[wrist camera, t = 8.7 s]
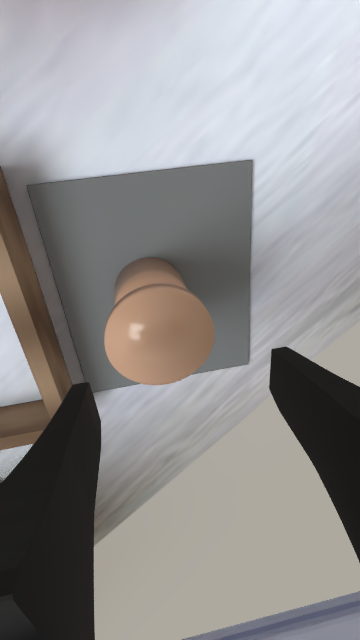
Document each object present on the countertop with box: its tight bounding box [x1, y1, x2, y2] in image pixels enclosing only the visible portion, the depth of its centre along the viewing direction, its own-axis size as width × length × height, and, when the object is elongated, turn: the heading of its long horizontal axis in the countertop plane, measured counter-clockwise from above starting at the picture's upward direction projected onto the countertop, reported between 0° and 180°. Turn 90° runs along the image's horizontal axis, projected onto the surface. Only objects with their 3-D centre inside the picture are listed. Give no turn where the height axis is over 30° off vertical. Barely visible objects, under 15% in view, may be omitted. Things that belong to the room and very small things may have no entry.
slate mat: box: [27, 160, 252, 393], centre depth 21 cm, size 14×12×1 cm
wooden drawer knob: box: [104, 257, 215, 385], centre depth 18 cm, size 5×5×6 cm
